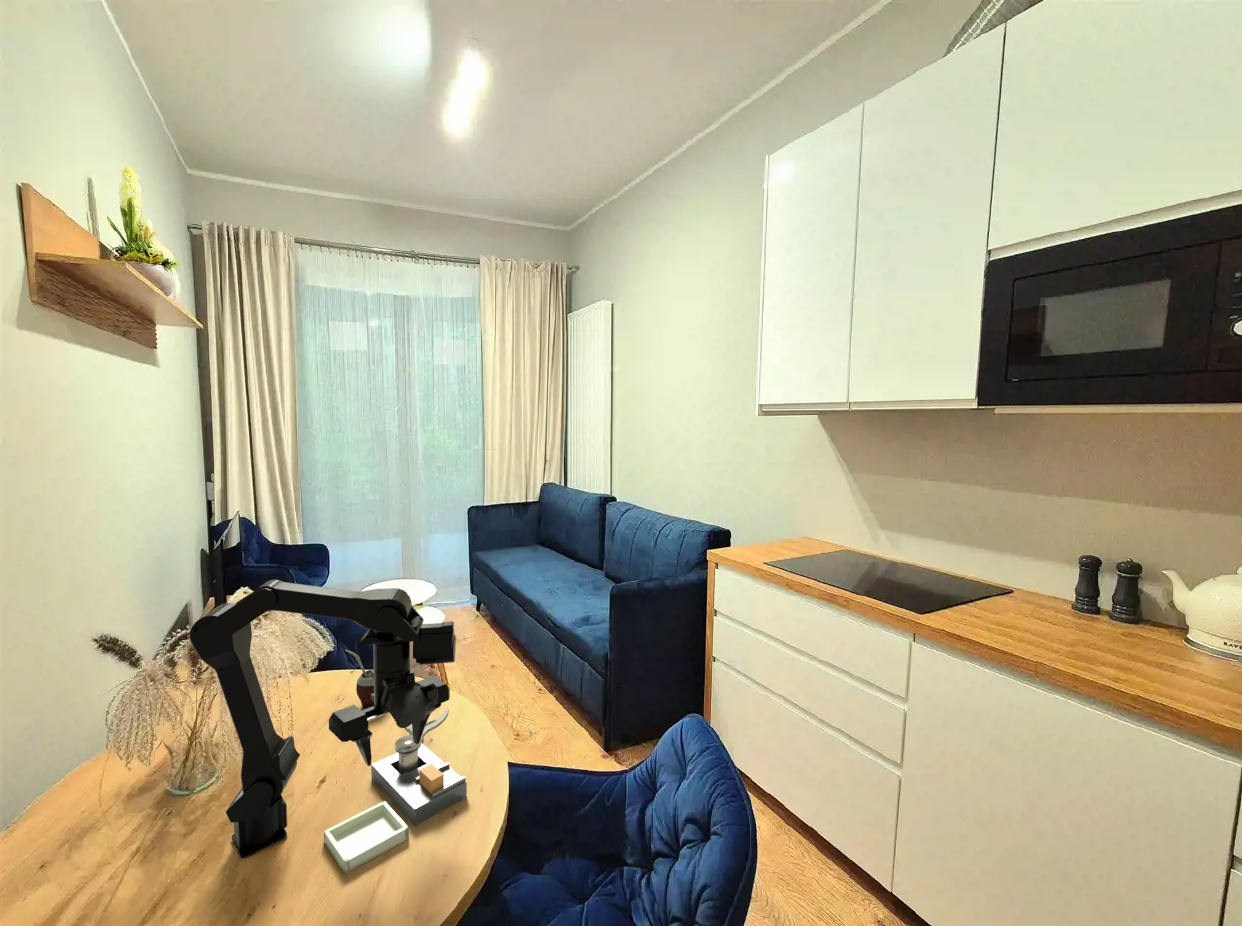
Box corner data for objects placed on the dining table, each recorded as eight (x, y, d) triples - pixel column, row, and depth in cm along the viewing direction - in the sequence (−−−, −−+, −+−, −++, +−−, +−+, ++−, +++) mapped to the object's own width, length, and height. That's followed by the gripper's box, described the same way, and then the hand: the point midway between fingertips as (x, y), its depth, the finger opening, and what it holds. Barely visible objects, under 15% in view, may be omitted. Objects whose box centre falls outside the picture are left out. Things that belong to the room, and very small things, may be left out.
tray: (345, 874, 84) (345, 862, 83) (324, 842, 90) (323, 831, 90) (408, 838, 91) (408, 827, 91) (385, 811, 97) (384, 800, 97)
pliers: (449, 704, 131) (436, 740, 116) (449, 710, 131) (436, 748, 116) (406, 706, 130) (387, 743, 115) (406, 712, 130) (387, 750, 115)
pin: (402, 790, 103) (401, 752, 102) (391, 779, 106) (390, 741, 105) (425, 778, 106) (425, 741, 105) (414, 768, 109) (413, 732, 108)
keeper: (431, 794, 97) (431, 780, 97) (419, 782, 100) (419, 769, 100) (443, 787, 99) (443, 774, 99) (431, 776, 102) (431, 763, 102)
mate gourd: (395, 702, 134) (394, 642, 133) (369, 718, 127) (367, 655, 126) (372, 695, 137) (371, 637, 136) (345, 711, 130) (344, 649, 129)
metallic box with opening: (414, 825, 94) (414, 805, 93) (371, 779, 106) (371, 760, 105) (466, 797, 101) (466, 778, 101) (420, 756, 113) (420, 739, 113)
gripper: (356, 703, 81) (357, 804, 82) (467, 663, 95) (467, 749, 96) (326, 678, 88) (328, 771, 89) (433, 644, 102) (433, 725, 103)
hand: (393, 753), depth 94 cm, fingers open, 8 cm apart
